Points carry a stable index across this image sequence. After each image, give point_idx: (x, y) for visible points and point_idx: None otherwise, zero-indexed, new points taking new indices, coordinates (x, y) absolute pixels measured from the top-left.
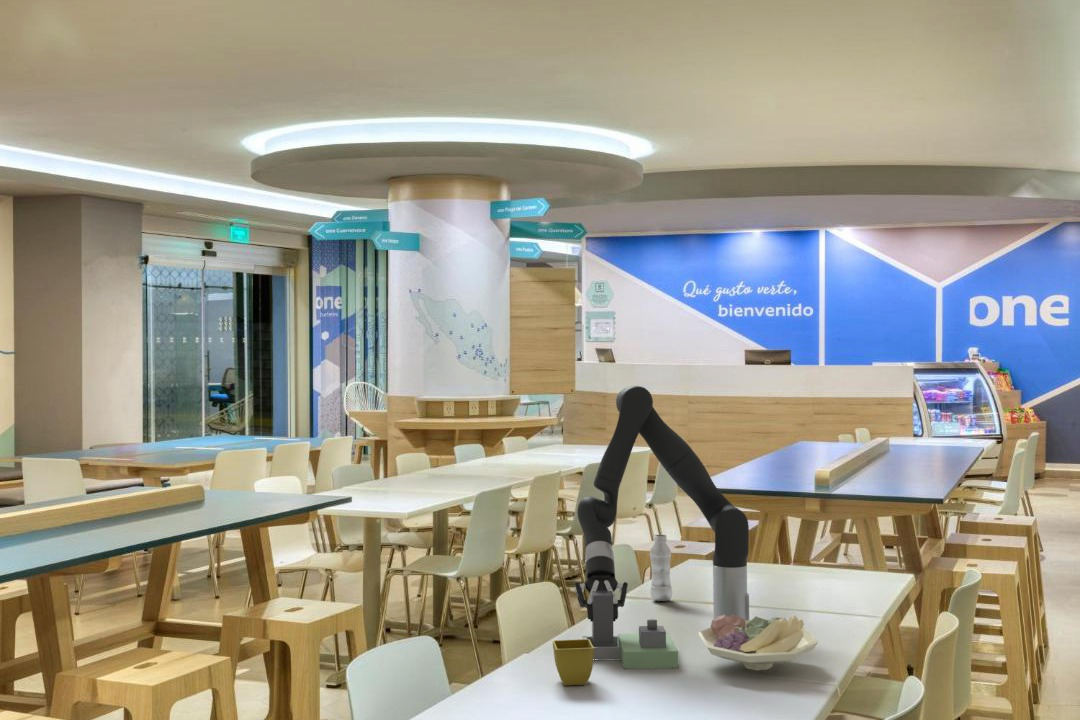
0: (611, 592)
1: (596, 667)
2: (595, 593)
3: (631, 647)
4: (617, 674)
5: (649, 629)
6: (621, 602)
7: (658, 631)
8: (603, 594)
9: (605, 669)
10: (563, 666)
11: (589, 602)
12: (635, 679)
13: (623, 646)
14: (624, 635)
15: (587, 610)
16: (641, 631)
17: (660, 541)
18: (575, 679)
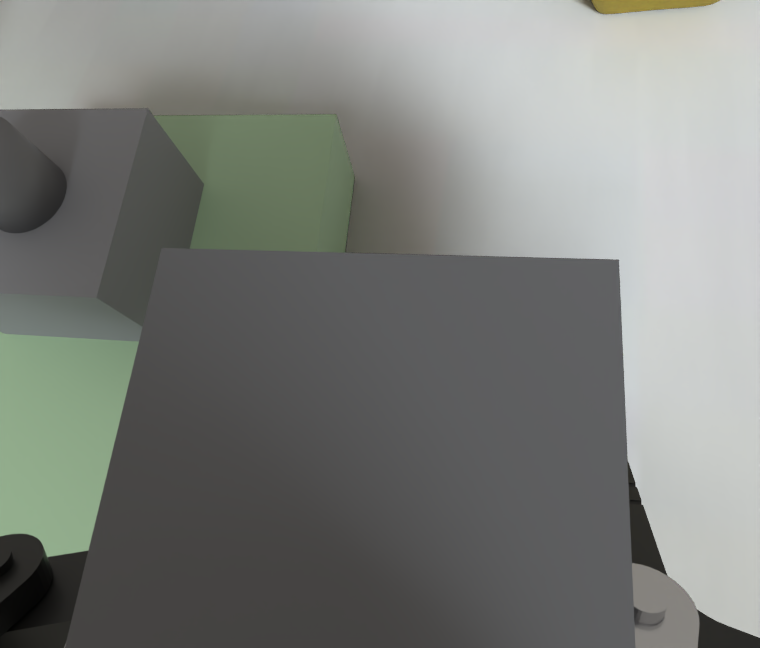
0: (103, 562)
1: (508, 213)
2: (544, 486)
3: (260, 210)
4: (408, 88)
5: (58, 167)
6: (44, 553)
7: (18, 114)
8: (350, 347)
9: (460, 172)
10: None
11: (643, 579)
12: (337, 16)
13: (308, 240)
14: None
15: (644, 510)
16: (140, 120)
17: None
18: None
